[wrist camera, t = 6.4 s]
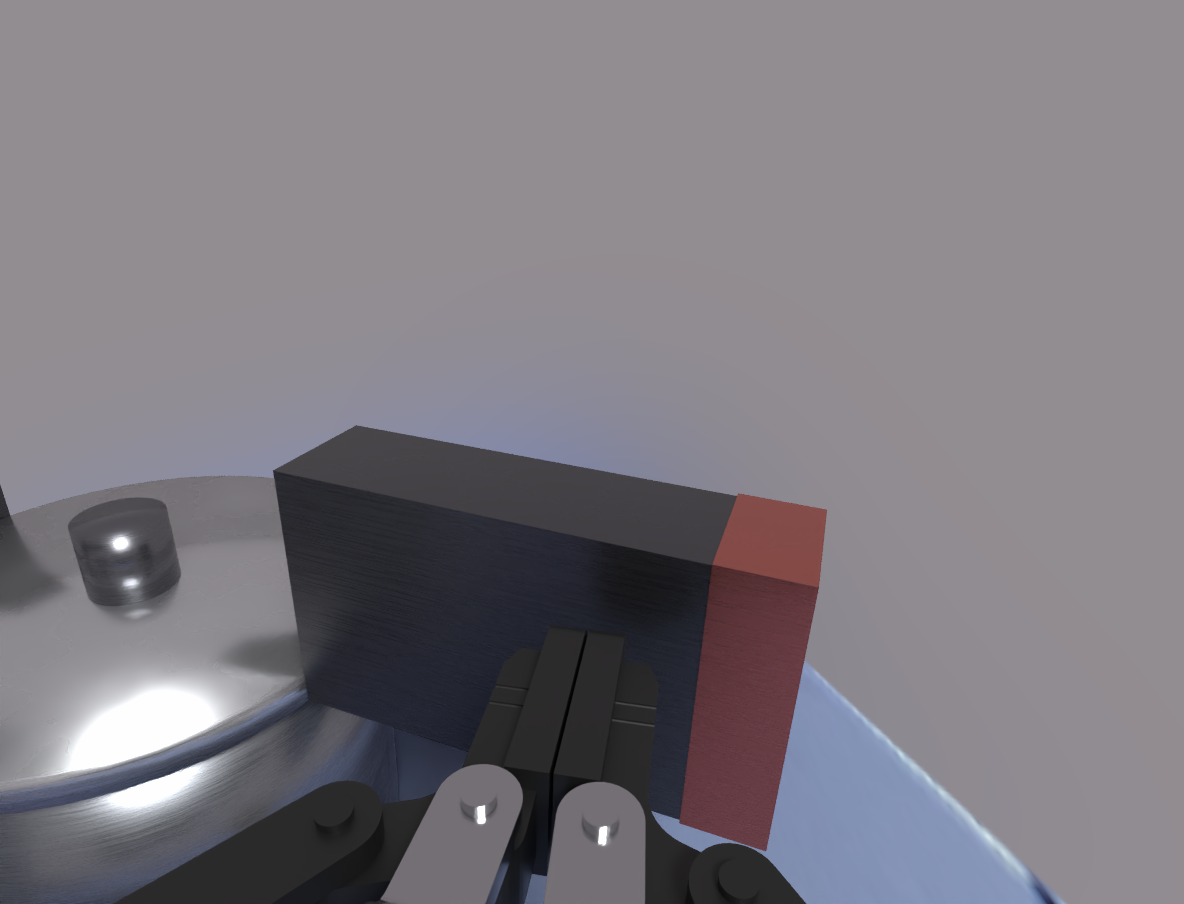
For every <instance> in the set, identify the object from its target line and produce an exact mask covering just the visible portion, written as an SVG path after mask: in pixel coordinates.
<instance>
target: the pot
mask: <svg viewBox="0 0 1184 904" xmlns="http://www.w3.org/2000/svg"><path fill="white" fill-rule="evenodd" d="M337 781H357V782H361V783H364V784H366V785H368V786H369V787H371V788H372V789H373V790H374V791H375V792H376V793H377V794H378V796H379V797H380V800H381V803H382V804H385V803H393V802H399V783H398V772H397V761H396V751H395V740H394V729H393V727H390V726H387V725H384V724H381V723H378V722H375V721H372V720H368V719H365V718H362V717H359V716H356V715H353V714H350V713H347V712H344V711H341V710H337V709H334V708H331V707H328V706H325V705H322V704H319V703H316V702H313V701H310V700H308V701H307V702H305V703H304V704H303V705H301V706H300V707H298V708H297V709H296V710H294V711H293V712H292V713H290V714H289V715H287V716H285V717H284V718H282V719H281V720H279V721H277V722H276V723H274V724H272V725H271V726H269V727H267V728H266V729H264V730H262V731H261V732H259V733H257V734H256V735H254V736H252V737H250V738H248V739H246V740H244V741H242V742H240V743H238V744H236V745H234V746H232V747H230V748H228V749H226V750H224V751H222V752H220V753H218V754H217V755H215V756H213V757H210V758H208V759H205V760H203V761H201V762H198V763H196V764H193V765H191V766H188V767H186V768H184V769H181V770H179V771H176V772H174V773H171V774H169V775H167V776H164V777H161V778H158V779H155V780H152V781H149V782H145V783H142V784H139V785H136V786H133V787H130V788H127V789H124V790H121V791H118V792H115V793H111V794H107V795H102V796H98V797H94V798H90V799H86V800H82V801H78V802H74V803H70V804H66V805H60V806H54V807H48V808H42V809H35V810H29V811H23V812H17V813H8V814H0V904H113V903H115V902H117V901H119V900H121V899H122V898H124V897H126V896H128V895H129V894H131V893H133V892H135V891H136V890H138V889H140V888H142V887H144V886H145V885H147V884H149V883H151V882H152V881H154V880H156V879H158V878H159V877H161V876H163V875H165V874H166V873H168V872H170V871H172V870H174V869H175V868H177V867H179V866H181V865H182V864H184V863H186V862H188V861H189V860H191V859H193V858H195V857H197V856H198V855H200V854H202V853H204V852H205V851H207V850H209V849H211V848H212V847H214V846H216V845H218V844H219V843H221V842H223V841H225V840H227V839H228V838H230V837H232V836H234V835H235V834H237V833H239V832H241V831H242V830H244V829H246V828H248V827H250V826H251V825H253V824H255V823H257V822H258V821H260V820H262V819H264V818H265V817H267V816H269V815H271V814H272V813H274V812H276V811H278V810H280V809H281V808H283V807H285V806H287V805H288V804H290V803H292V802H294V801H295V800H297V799H299V798H301V797H303V796H304V795H306V794H308V793H310V792H311V791H313V790H315V789H317V788H319V787H321V786H323V785H326V784H329V783H332V782H337Z"/></svg>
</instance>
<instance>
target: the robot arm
mask: <svg viewBox="0 0 1184 904" xmlns="http://www.w3.org/2000/svg"><path fill="white" fill-rule="evenodd" d="M625 644H626V634H619V633H611V632H603V631H595V630H589V632H588V636H587V630H586V629H578V628H570V627H563V626H555V625H551V626H550V627H549V630H548V633H547V636H546V639H545V642H544V645H543V648H542V650H534V649H527V648H520V649H519V650H518V651H517V652H516V653H515V654H513V655H512V656H511V657H510V658H509V659H508V660H507V661H506V662H505V663H504V664H503V666H502V669H501V671H500V674H499V676H498V679H497V682H496V685H495V688H494V689H493V692H492V694H491V697H490V699H489V704H488V705H487V707H486V709H485V712H484V714H483V717H482V720H481V722H480V725H479V727H478V730H477V732H476V735H475V737H474V740H473V742H472V745H471V747H470V750H469V753H468V755H467V758H466V760H465V763H464V765H463V767H462V769H460V770H458V771H456V772H454V773H453V774H451V775H450V776H449V777H448V778H446V780H445V781H444V782H443V783H442V784H441V786H440V787H439V789H438V790H437V792H436V793H434V794H431V795H429V796H426V797H423V798H419V799H414V800H408V801H400V802H393V803H385V804H382V803H381V800H380V797H379V796H378V794H377V793H376V792H375V791H374V790H373V789H372V788H371V787H369V786H368V785H366V784H364V783H361V782H357V781H337V782H332V783H329V784H326V785H323V786H321V787H319V788H317V789H315V790H313V791H311V792H310V793H308V794H306V795H304V796H303V797H301V798H299V799H297V800H295V801H294V802H292V803H290V804H288V805H287V806H285V807H283V808H281V809H280V810H278V811H276V812H274V813H272V814H271V815H269V816H267V817H265V818H264V819H262V820H260V821H258V822H257V823H255V824H253V825H251V826H250V827H248V828H246V829H244V830H242V831H241V832H239V833H237V834H235V835H234V836H232V837H230V838H228V839H227V840H225V841H223V842H221V843H219V844H218V845H216V846H214V847H212V848H211V849H209V850H207V851H205V852H204V853H202V854H200V855H198V856H197V857H195V858H193V859H191V860H189V861H188V862H186V863H184V864H182V865H181V866H179V867H177V868H175V869H174V870H172V871H170V872H168V873H166V874H165V875H163V876H161V877H159V878H158V879H156V880H154V881H152V882H151V883H149V884H147V885H145V886H144V887H142V888H140V889H138V890H136V891H135V892H133V893H131V894H129V895H128V896H126V897H124V898H122V899H121V900H119V901H117V902H115V903H113V904H524V903H525V900H526V895H527V891H528V887H529V883H530V879H531V875H532V874H537V875H543V876H547V873H548V877H547V884H546V891H545V898H544V904H806V903H805V902H804V901H803V899H802V898H801V897H800V896H799V895H798V893H797V892H796V891H795V890H794V889H793V887H792V886H791V885H790V884H789V883H788V881H787V880H786V879H785V878H784V877H783V876H782V874H781V873H780V872H779V871H778V870H777V868H776V867H775V866H774V865H773V864H772V863H771V862H770V861H769V860H768V859H767V858H766V857H764V856H763V855H762V854H760V853H759V852H757V851H755V850H753V849H751V848H749V847H746V846H743V845H739V844H732V843H722V844H717V845H713V846H711V847H709V848H707V849H705V850H704V851H702V852H699V851H697V850H695V849H693V848H691V847H689V846H687V845H685V844H683V843H681V842H679V841H678V840H676V839H674V838H673V837H671V836H670V835H669V834H668V833H666V832H665V831H664V830H663V829H662V828H661V826H660V825H659V824H658V823H657V821H656V820H655V818H654V816H653V814H652V812H651V809H650V806H649V800H648V790H649V780H650V769H651V758H652V748H653V737H654V726H655V716H656V705H657V694H658V683H657V681H656V678H655V676H654V674H653V672H652V670H651V667H650V665H648V664H641V663H633V662H626V661H624V657H625Z"/></svg>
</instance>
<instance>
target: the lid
mask: <svg viewBox="0 0 1184 904" xmlns="http://www.w3.org/2000/svg"><path fill="white" fill-rule="evenodd" d="M273 473H274V478H264V477H248V476H204V477H190V478H177V479H168V480H160V481H151V482H145V483H138V484H132V485H126V486H121V487H115V488H111V489H105V490H101V491H96V492H91V493H87V494H83V495H79V496H75V497H71V498H67V499H63V500H59V501H56V502H53V503H49V504H46V505H42V506H39V507H36V508H32V509H29V510H26V511H23V512H20V513H17V514H15V515H12V516H10V514H9V510H8V507H7V505H6V501H5V498H4V495H3V492H2V489H1V486H0V814H8V813H17V812H23V811H29V810H35V809H42V808H48V807H54V806H60V805H66V804H70V803H74V802H78V801H82V800H86V799H90V798H94V797H98V796H102V795H107V794H111V793H115V792H118V791H121V790H124V789H127V788H130V787H133V786H136V785H139V784H142V783H145V782H149V781H152V780H155V779H158V778H161V777H164V776H167V775H169V774H171V773H174V772H176V771H179V770H181V769H184V768H186V767H188V766H191V765H193V764H196V763H198V762H201V761H203V760H205V759H208V758H210V757H213V756H215V755H217V754H218V753H220V752H222V751H224V750H226V749H228V748H230V747H232V746H234V745H236V744H238V743H240V742H242V741H244V740H246V739H248V738H250V737H252V736H254V735H256V734H257V733H259V732H261V731H262V730H264V729H266V728H267V727H269V726H271V725H272V724H274V723H276V722H277V721H279V720H281V719H282V718H284V717H285V716H287V715H289V714H290V713H292V712H293V711H294V710H296V709H297V708H298V707H300V706H301V705H303V704H304V703H305V702H307V701H308V700H310V701H313V702H316V703H319V704H322V705H325V706H328V707H331V708H334V709H337V710H341V711H344V712H347V713H350V714H353V715H356V716H359V717H362V718H365V719H368V720H372V721H375V722H378V723H381V724H384V725H387V726H390V727H393V728H396V729H400V730H403V731H406V732H409V733H412V734H415V735H418V736H421V737H424V738H427V739H431V740H434V741H437V742H440V743H443V744H446V745H449V746H452V747H455V748H458V749H462V750H465V751H468V752H469V750H470V747H471V745H472V742H473V740H474V737H475V735H476V732H477V730H478V727H479V725H480V722H481V720H482V717H483V714H484V712H485V709H486V707H487V705H488V704H489V699H490V697H491V694H492V692H493V689H494V688H495V685H496V682H497V679H498V676H499V674H500V671H501V669H502V666H503V664H504V663H505V662H506V661H507V660H508V659H509V658H510V657H511V656H512V655H513V654H515V653H516V652H517V651H518V650H519V649H520V648H527V649H534V650H542V648H543V645H544V642H545V639H546V636H547V633H548V630H549V627H550V626H551V625H555V626H563V627H570V628H578V629H586V630H587V636H588V632H589V630H595V631H603V632H611V633H619V634H626V644H625V657H624V661H626V662H633V663H641V664H648V665H650V667H651V670H652V672H653V674H654V676H655V678H656V681H657V683H658V694H657V705H656V716H655V726H654V737H653V748H652V758H651V769H650V780H649V790H648V800H649V806H650V809H651V811H654V812H657V813H660V814H663V815H666V816H669V817H672V818H675V819H679V820H680V822H679V823H680V824H683V825H686V826H689V827H693V828H696V829H699V830H702V831H705V832H708V833H711V834H714V835H717V836H720V837H723V838H727V839H730V840H733V841H736V842H739V843H742V844H745V845H748V846H751V847H754V848H757V849H761V850H764V851H766V849H767V844H768V839H769V834H770V829H771V824H772V819H773V814H774V809H775V804H776V799H777V794H778V789H779V784H780V779H781V774H782V769H783V764H784V759H785V754H786V749H787V744H788V739H789V734H790V729H791V724H792V719H793V714H794V709H795V704H796V699H797V694H798V689H799V684H800V679H801V674H802V669H803V664H804V659H805V654H806V649H807V644H808V639H809V633H810V629H811V623H812V619H813V614H814V609H815V604H816V599H817V594H818V589H819V581H820V571H821V562H822V561H821V560H822V552H823V541H824V532H825V523H826V513H827V510H825V509H820V508H814V507H809V506H803V505H798V504H793V503H787V502H782V501H776V500H771V499H765V498H760V497H755V496H749V495H744V494H738V496H733V495H728V494H723V493H717V492H711V491H706V490H701V489H696V488H690V487H685V486H679V485H674V484H669V483H663V482H658V481H653V480H647V479H642V478H636V477H631V476H626V475H620V474H615V473H609V472H604V471H599V470H593V469H588V468H583V467H577V466H572V465H567V464H561V463H556V462H550V461H544V460H540V459H534V458H529V457H523V456H518V455H513V454H507V453H502V452H496V451H491V450H486V449H480V448H475V447H470V446H464V445H459V444H453V443H448V442H442V441H437V440H432V439H427V438H421V437H416V436H410V435H405V434H399V433H394V432H388V431H383V430H378V429H372V428H367V427H362V426H357V425H356V426H354V427H353V428H351V429H349V430H347V431H345V432H344V433H342V434H340V435H338V436H336V437H334V438H332V439H331V440H329V441H327V442H325V443H323V444H321V445H319V446H318V447H316V448H314V449H312V450H310V451H309V452H307V453H305V454H303V455H301V456H299V457H297V458H296V459H294V460H292V461H290V462H288V463H286V464H285V465H283V466H281V467H279V468H277V469H275V470H273Z"/></svg>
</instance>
